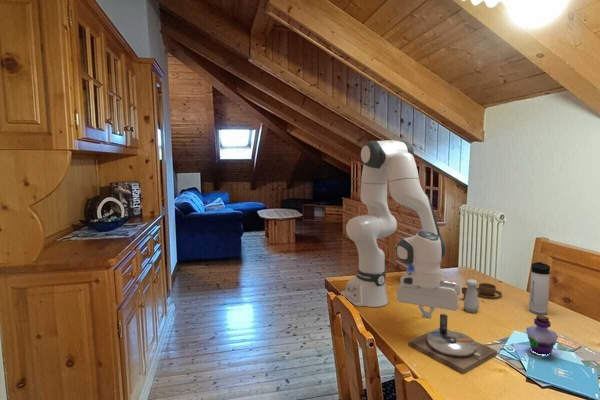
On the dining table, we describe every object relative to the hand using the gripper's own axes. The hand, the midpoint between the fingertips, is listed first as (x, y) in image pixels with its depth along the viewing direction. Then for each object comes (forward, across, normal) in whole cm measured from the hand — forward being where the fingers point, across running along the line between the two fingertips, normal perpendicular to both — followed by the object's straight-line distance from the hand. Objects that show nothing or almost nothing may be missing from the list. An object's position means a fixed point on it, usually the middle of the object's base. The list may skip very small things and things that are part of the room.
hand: (426, 317), depth 125 cm
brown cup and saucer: (+8, -16, -52) cm, 55 cm away
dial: (+6, -9, +5) cm, 12 cm away
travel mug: (+7, -38, -41) cm, 56 cm away
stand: (+7, -9, +5) cm, 12 cm away
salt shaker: (+7, -14, -31) cm, 35 cm away
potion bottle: (+8, -34, -5) cm, 35 cm away
